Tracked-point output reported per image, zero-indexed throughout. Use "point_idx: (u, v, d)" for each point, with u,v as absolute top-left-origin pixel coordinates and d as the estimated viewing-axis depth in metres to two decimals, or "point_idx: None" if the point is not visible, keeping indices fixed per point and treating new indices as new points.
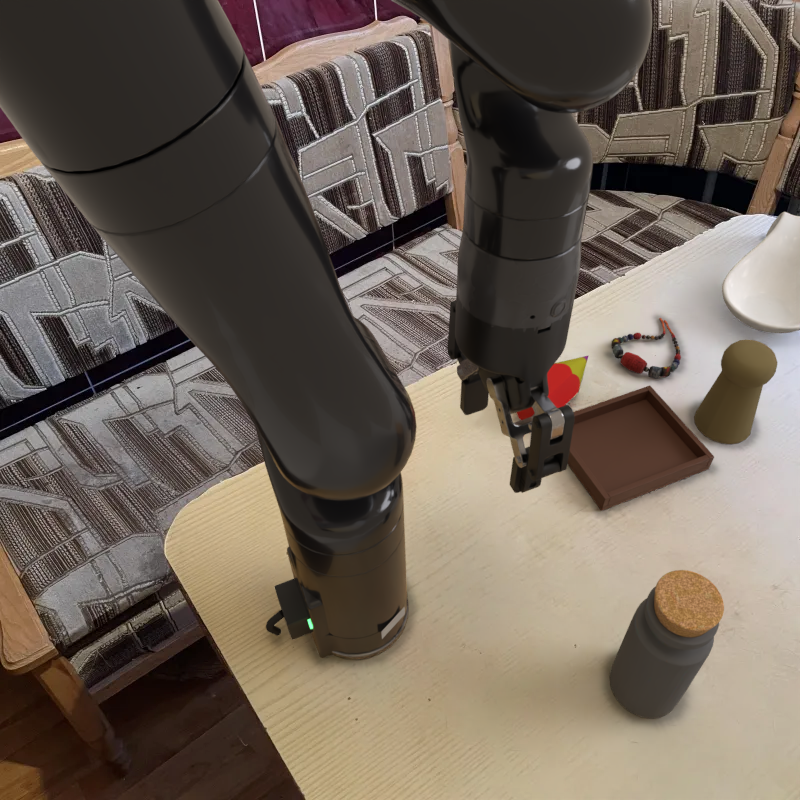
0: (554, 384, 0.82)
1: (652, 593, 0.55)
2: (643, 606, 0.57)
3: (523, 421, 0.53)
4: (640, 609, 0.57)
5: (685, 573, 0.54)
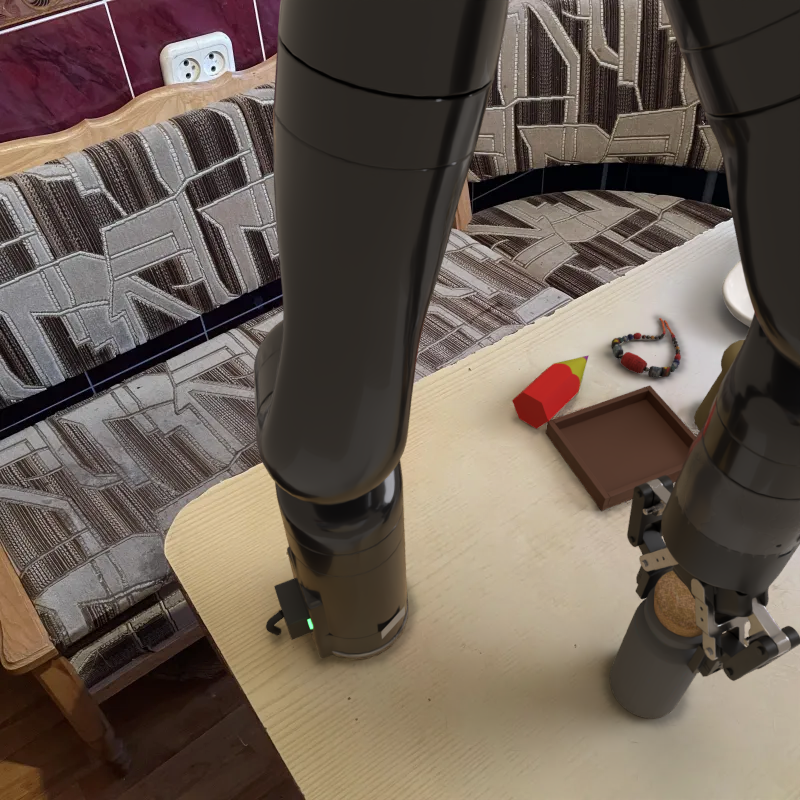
0: (554, 384, 0.82)
1: (652, 593, 0.55)
2: (643, 606, 0.57)
3: (721, 616, 0.50)
4: (640, 609, 0.57)
5: None
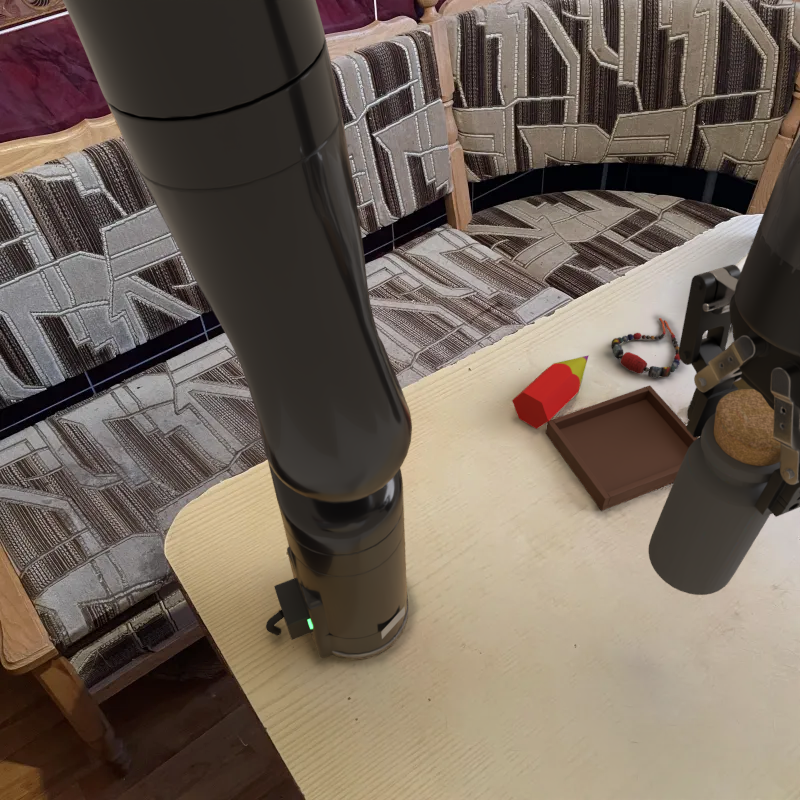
0: (554, 384, 0.82)
1: (711, 420, 0.45)
2: (697, 444, 0.47)
3: None
4: (693, 447, 0.47)
5: (753, 392, 0.44)
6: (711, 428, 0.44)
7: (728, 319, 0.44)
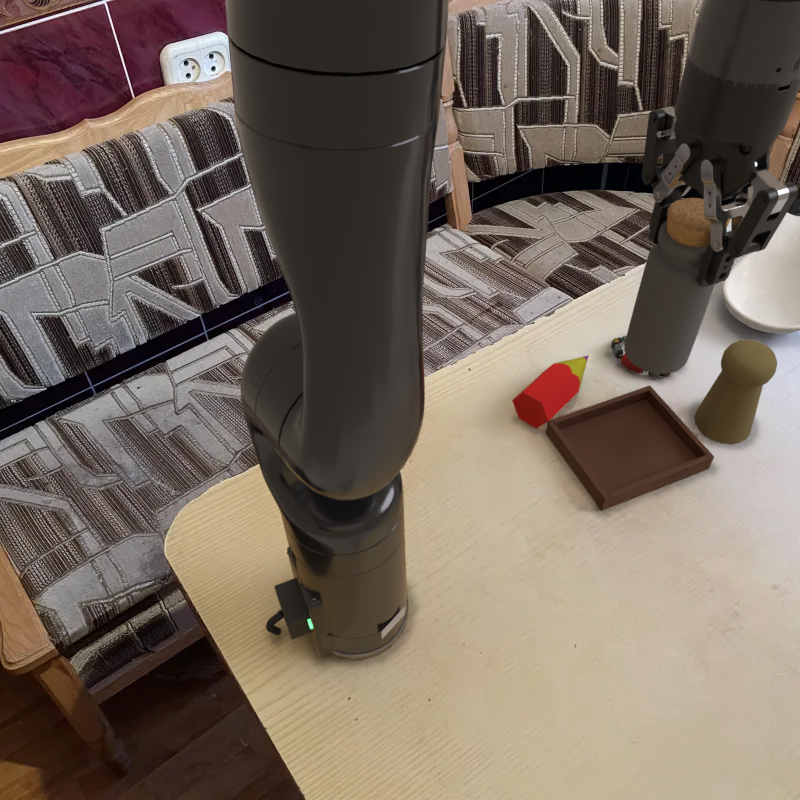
0: (554, 384, 0.82)
1: (665, 223, 0.62)
2: (656, 246, 0.63)
3: (726, 207, 0.56)
4: (653, 248, 0.63)
5: (695, 199, 0.61)
6: (665, 227, 0.61)
7: (676, 147, 0.61)
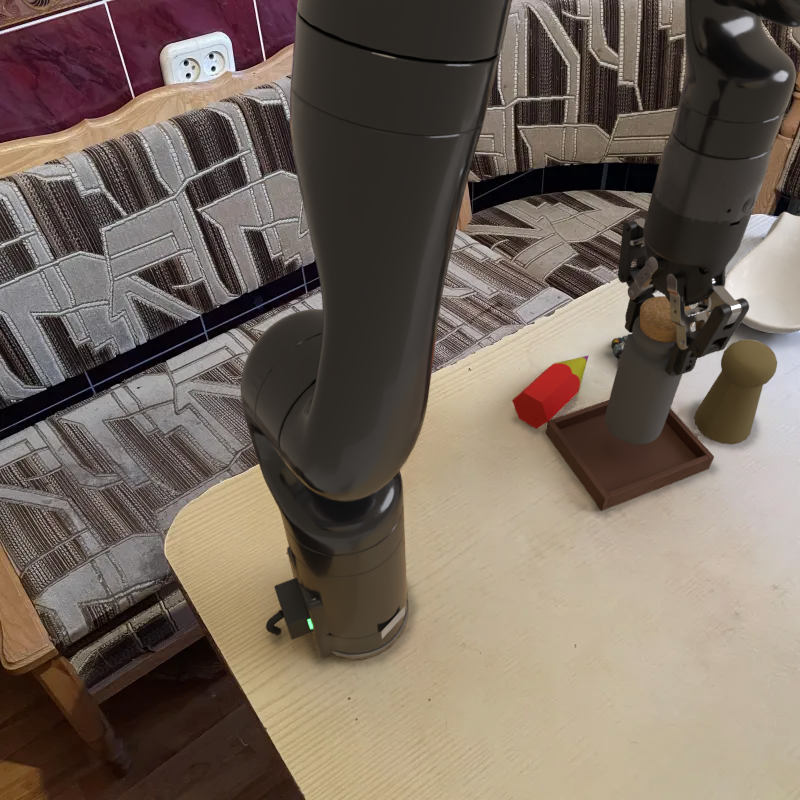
0: (554, 384, 0.82)
1: (638, 317, 0.69)
2: (631, 335, 0.71)
3: (690, 312, 0.64)
4: (629, 338, 0.71)
5: (664, 298, 0.68)
6: (638, 322, 0.69)
7: None
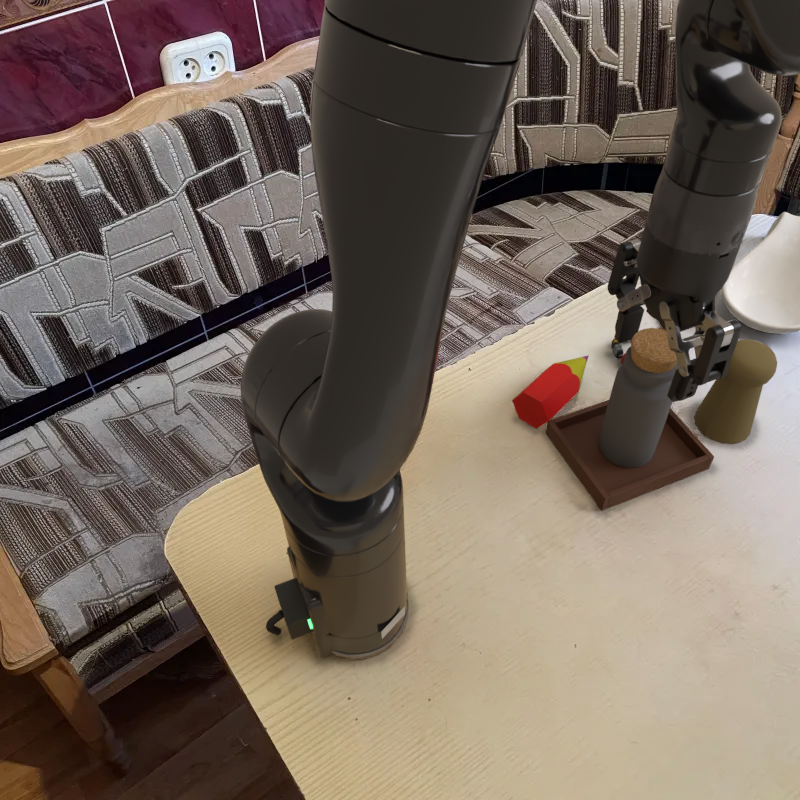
0: (554, 384, 0.82)
1: (630, 348, 0.72)
2: (623, 365, 0.74)
3: (687, 338, 0.65)
4: (621, 367, 0.74)
5: (655, 329, 0.71)
6: (630, 352, 0.72)
7: (639, 269, 0.70)
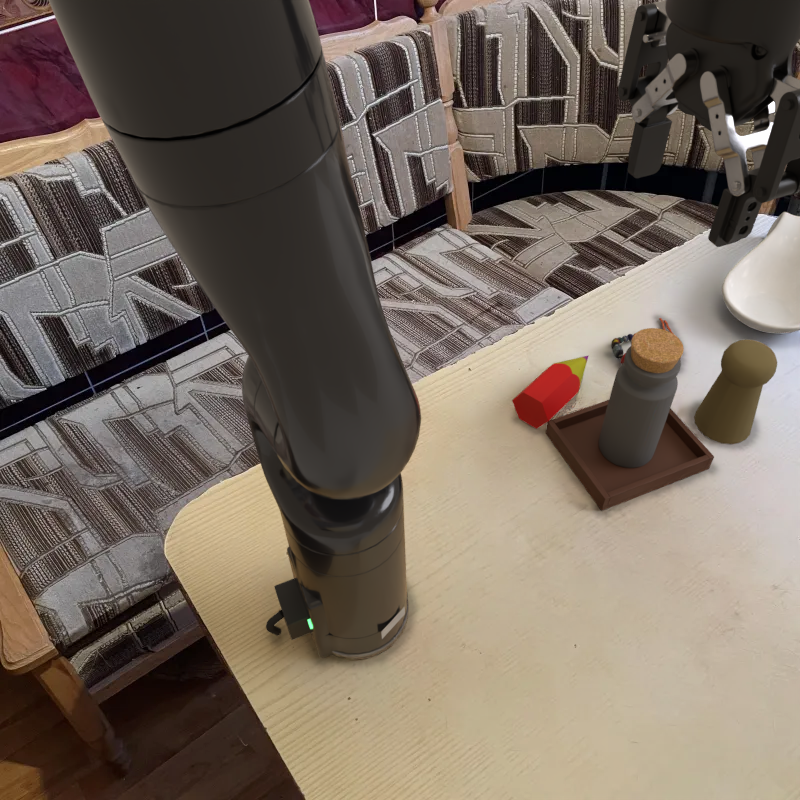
0: (554, 384, 0.82)
1: (630, 348, 0.72)
2: (623, 364, 0.74)
3: None
4: (621, 367, 0.74)
5: (655, 329, 0.71)
6: (630, 352, 0.72)
7: (665, 55, 0.48)
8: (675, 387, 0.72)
